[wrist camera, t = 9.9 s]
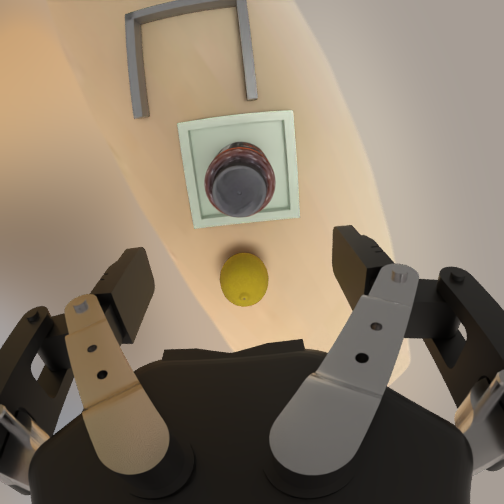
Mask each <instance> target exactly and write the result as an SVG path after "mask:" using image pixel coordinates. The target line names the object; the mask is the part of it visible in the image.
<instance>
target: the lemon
mask: <svg viewBox="0 0 504 504" xmlns="http://www.w3.org/2000/svg"><path fill="white" fill-rule="evenodd" d="M220 284H221V289H222V291H223V293H224V295H225V297H226V298H227V299H228V300H229V301H230V302H231V303H233V304H235V305H237V306H242V307H245V306H251V305H254V304H256V303H257V302H259V301H260V300H261V299H262V297H263V296H264V295H265V293H266V290H267V287H268V273H267V269H266V267H265V265H264V263H263V262H262V261H261V260H260V259H259V258H258V257H256V256H255V255H253V254H250V253H238V254H236V255H233V256H232V257H230V258H229V259H228V260H227V261H226V262H225V264H224V265H223V268H222V270H221V275H220Z"/></svg>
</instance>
